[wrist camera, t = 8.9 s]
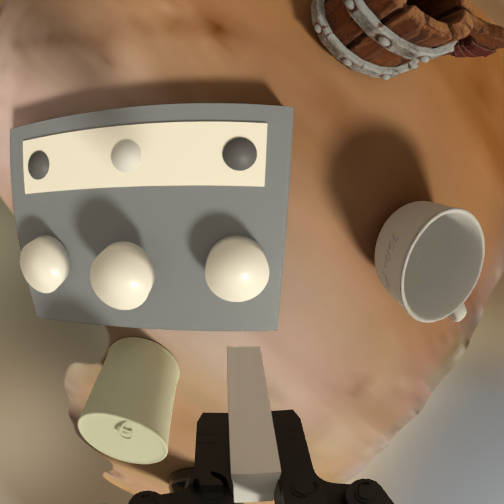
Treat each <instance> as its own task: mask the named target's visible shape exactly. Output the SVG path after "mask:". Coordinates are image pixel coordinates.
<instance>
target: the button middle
mask: <svg viewBox="0 0 504 504" xmlns="http://www.w3.org/2000/svg"><path fill="white" fill-rule="evenodd" d="M154 281H155V267H154V264H153V261H152V259H151V258H150V256H149V255H148V253H147V252H146V251H145V250H144V249H142V248H141V247H140V246H138V245H136V244H134V243H131V242H126V241H119V242H115V243H112V244H111V245H109V246H108V247H106V248H105V249H104V250H103V251H102V252H101V253H100V254H99V255H98V256H97V257H96V258H95V259H94V261H93V263H92V265H91V268H90V282H91V285H92V288H93V290H94V292H95V293H96V295H97V296H98V297H99V298H100V299H101V300H102V301H103V302H104V303H105V304H107V305H109V306H111V307H113V308H115V309H119V310H131V309H134V308H137V307H139V306H140V305H141V304H143V303H144V301H145V300H146V298H147V297H148V294H149V292H150V290H151V288H152V286H153V284H154Z"/></svg>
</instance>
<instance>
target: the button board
mask: <svg viewBox="0 0 504 504" xmlns="http://www.w3.org/2000/svg"><path fill="white" fill-rule="evenodd" d="M293 109H294V107H286V106H274V105H259V104H235V103H187V104H163V105H148V106H136V107H126V108H117V109H109V110H101V111H94V112H88V113H81V114H75V115H70V116H64V117H59V118H54V119H49V120H45V121H40V122H36V123H32V124H28V125H24V126H20V127H16V128H12V129H10V164H11V182H12V194H13V204H14V212H15V220H16V226H17V233H18V239H19V244H20V250H21V251H22V249H23V247H24V246H25V245H26V244H28V243H29V242H31V241H33V240H34V239H36V238H37V237H39V236H42V235H49V236H52V237H54V238H56V239H57V240H58V241H60V242H61V244H62V245H63V246H64V247H65V249H66V251H67V253H68V256H69V259H70V272H69V275H68V277H67V278H66V280H65V281H64V282H63V283H62V284H61V285H60V286H59V287H58V288H57V289H56V290H55V291H53V292H51V293H42V292H39V291H37V290H35V289H34V288H33V287H32V286H31V285H30V284H29V283H28V285H29V289H30V293H31V296H32V300H33V303H34V306H35V310H36V313H37V316H38V318H46V319H52V320H60V321H68V322H76V323H86V324H96V325H106V326H118V327H131V328H146V329H165V330H191V331H277V325H278V316H279V305H280V295H281V284H282V273H283V262H284V250H285V238H286V225H287V212H288V197H289V182H290V166H291V149H292V130H293ZM233 235H240V236H245V237H248V238H250V239H253V240H254V241H255V242H257V243H258V244H259V245H260V246H261V248H262V249H263V251H264V253H265V256H266V259H267V262H268V266H269V279H268V282H267V284H266V286H265V288H264V289H263V290H262V292H261V293H260V294H258V295H257V296H256V297H254V298H252V299H250V300H247V301H243V302H231V301H227V300H224V299H221V298H220V297H218V296H217V295H215V294H214V293H213V292H212V291H211V289H210V288H209V286H208V285H207V282H206V279H205V267H206V261H207V256H208V253H209V251H210V249H211V248H212V247H213V245H214V244H215V243H217V242H218V241H219V240H221V239H223V238H225V237H228V236H233ZM119 241H126V242H131V243H134V244H136V245H138V246H140V247H141V248H142V249H144V250H145V251H146V252H147V253H148V255H149V256H150V258H151V259H152V261H153V264H154V267H155V281H154V284H153V286H152V288H151V290H150V292H149V294H148V297H147V298H146V300H145V301H144V303H143V304H141V305H140V306H139V307H137V308H134V309H131V310H119V309H115V308H113V307H111V306H109V305H107V304H105V303H104V302H103V301H102V300H101V299H100V298H99V297H98V296H97V295H96V293H95V292H94V290H93V288H92V285H91V282H90V268H91V265H92V263H93V261H94V259H95V258H96V257H97V256H98V255H99V254H100V253H101V252H102V251H103V250H104V249H105V248H106V247H108V246H109V245H111V244H112V243H115V242H119Z"/></svg>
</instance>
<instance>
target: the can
mask: <svg viewBox="0 0 504 504" xmlns="http://www.w3.org/2000/svg"><path fill="white" fill-rule="evenodd" d="M179 376H180V369H179V365H178V363H177V361H176V359H175V358H174V356H173V355H172V354H171V353H170V352H169V351H168V350H167V349H165V348H164V347H163V346H161V345H159V344H158V343H156V342H154V341H151V340H148V339H145V338H139V337H127V338H123V339H120V340H118V341H116V342H115V343H113V344H112V345H111V347H110V348H109V350H108V353H107V357H106V360H105V362H104V364H103V367H102V369H101V371H100V373H99V375H98V378H97V380H96V382H95V384H94V387H93V389H92V391H91V393H90V396H89V398H88V400H87V403H86V405H85V407H84V409H83V411H82V414H81V416H80V417H79V419H78V424H77V425H78V429H79V431H80V433H81V435H82V436H83V437H84V439H85V440H86V441H87V442H88V443H89V444H90V445H92V446H93V447H94V448H96V449H97V450H99V451H101V452H102V453H104V454H106V455H108V456H110V457H113V458H115V459H118V460H121V461H125V462H129V463H135V464H152V463H156V462H159V461H161V460H163V459H164V458H165V457H166V456H167V453H168V439H169V431H170V424H171V416H172V410H173V403H174V397H175V391H176V386H177V382H178V380H179Z"/></svg>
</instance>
